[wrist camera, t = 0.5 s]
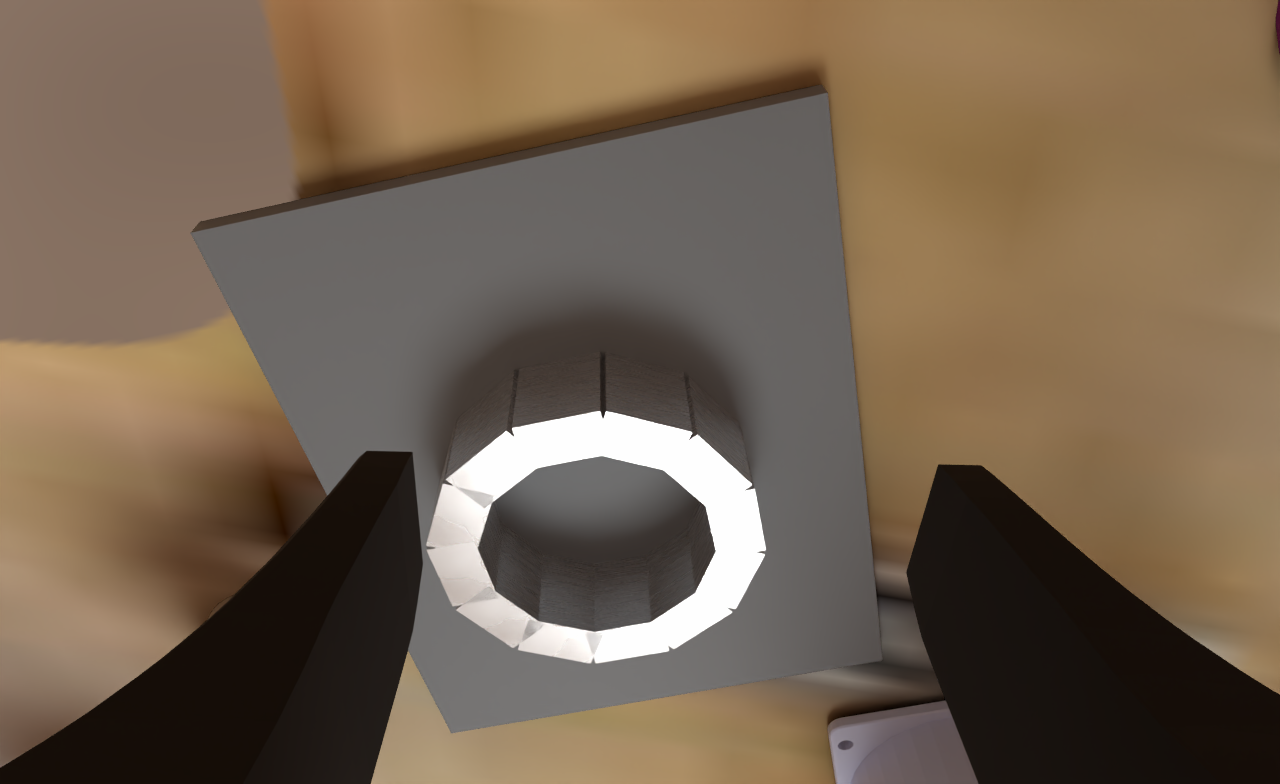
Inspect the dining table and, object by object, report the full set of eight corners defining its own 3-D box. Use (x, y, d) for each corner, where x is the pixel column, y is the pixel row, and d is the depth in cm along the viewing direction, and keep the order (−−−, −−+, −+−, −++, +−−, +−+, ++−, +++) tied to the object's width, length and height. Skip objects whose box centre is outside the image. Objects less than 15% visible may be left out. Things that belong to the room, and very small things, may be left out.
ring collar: (766, 564, 27) (780, 631, 25) (496, 612, 27) (487, 682, 25) (722, 326, 22) (735, 384, 20) (401, 391, 23) (381, 453, 21)
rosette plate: (877, 645, 30) (882, 660, 29) (453, 717, 31) (451, 733, 30) (821, 84, 20) (827, 92, 19) (199, 221, 21) (190, 232, 20)
